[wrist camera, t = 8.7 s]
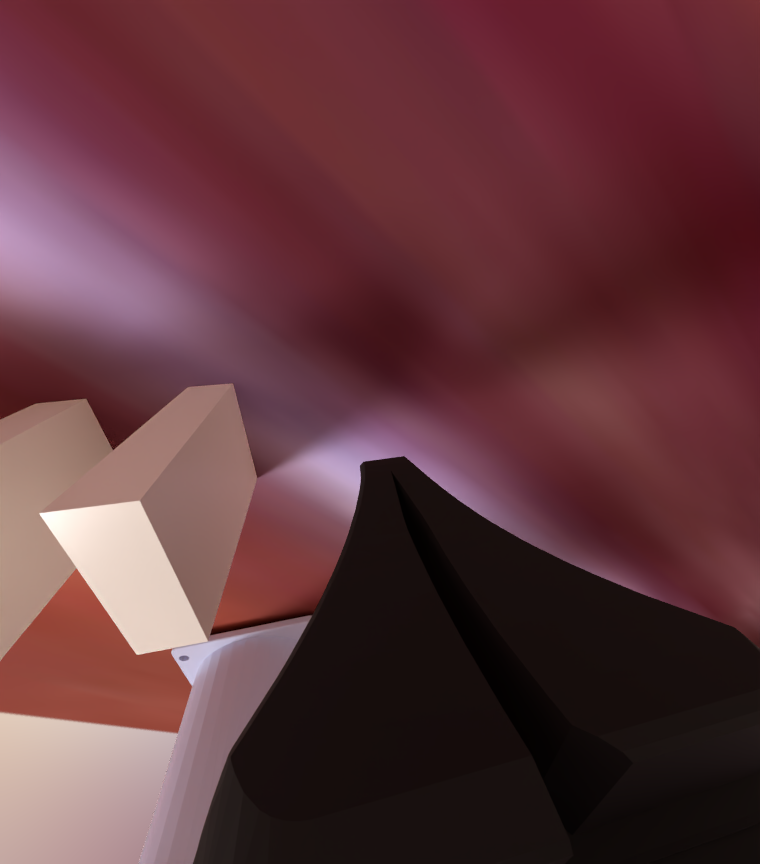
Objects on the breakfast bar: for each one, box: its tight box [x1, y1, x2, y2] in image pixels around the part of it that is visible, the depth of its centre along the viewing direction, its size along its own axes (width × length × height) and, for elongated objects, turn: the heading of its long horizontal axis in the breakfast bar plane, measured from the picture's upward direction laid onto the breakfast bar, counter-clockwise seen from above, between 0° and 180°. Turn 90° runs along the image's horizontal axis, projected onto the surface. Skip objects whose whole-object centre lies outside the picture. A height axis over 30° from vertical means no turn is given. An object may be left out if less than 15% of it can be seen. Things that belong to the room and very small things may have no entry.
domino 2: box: [39, 383, 257, 655], centre depth 10 cm, size 4×2×7 cm, turn 2°
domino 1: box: [0, 399, 113, 660], centre depth 9 cm, size 4×2×7 cm, turn 2°
